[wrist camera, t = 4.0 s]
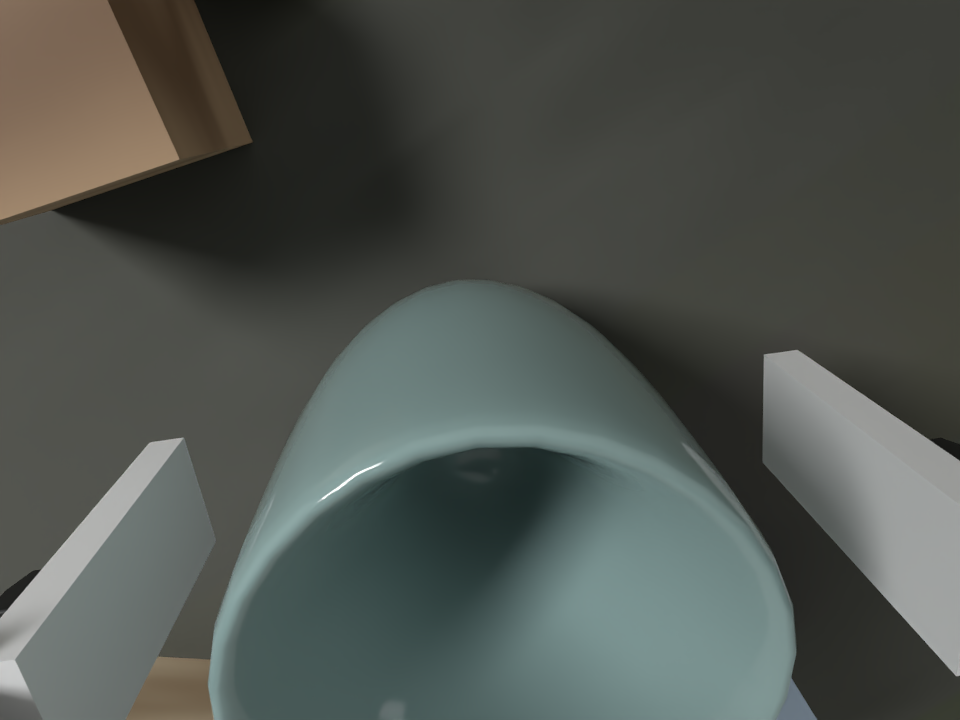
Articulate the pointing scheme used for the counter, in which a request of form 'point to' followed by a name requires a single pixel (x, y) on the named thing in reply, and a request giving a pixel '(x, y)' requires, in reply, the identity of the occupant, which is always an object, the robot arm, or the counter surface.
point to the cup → (497, 538)
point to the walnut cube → (105, 98)
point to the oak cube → (174, 691)
